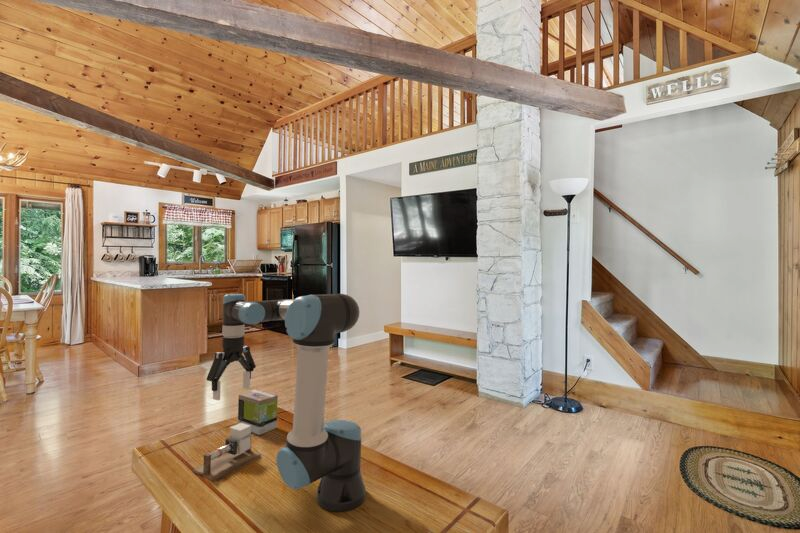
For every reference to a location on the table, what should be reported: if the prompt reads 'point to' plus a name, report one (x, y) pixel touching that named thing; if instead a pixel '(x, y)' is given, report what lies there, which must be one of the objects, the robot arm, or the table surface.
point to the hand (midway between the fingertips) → (232, 393)
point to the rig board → (225, 464)
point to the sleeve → (241, 436)
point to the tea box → (258, 410)
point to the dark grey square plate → (233, 446)
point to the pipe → (222, 451)
